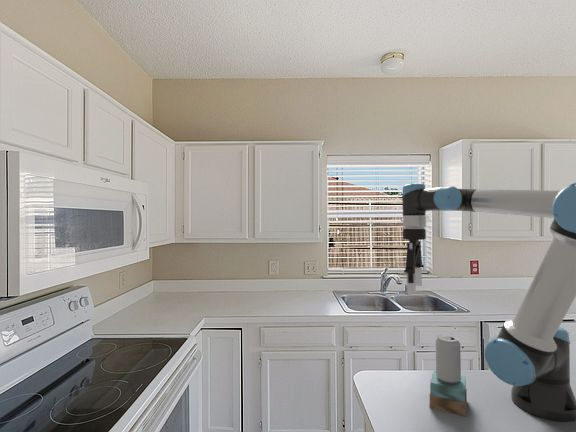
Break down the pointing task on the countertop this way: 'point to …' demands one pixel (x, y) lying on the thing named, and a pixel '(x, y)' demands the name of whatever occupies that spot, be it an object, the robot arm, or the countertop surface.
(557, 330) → the robot arm
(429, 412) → the countertop surface
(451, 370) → the beverage can
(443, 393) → the teal and brown block
